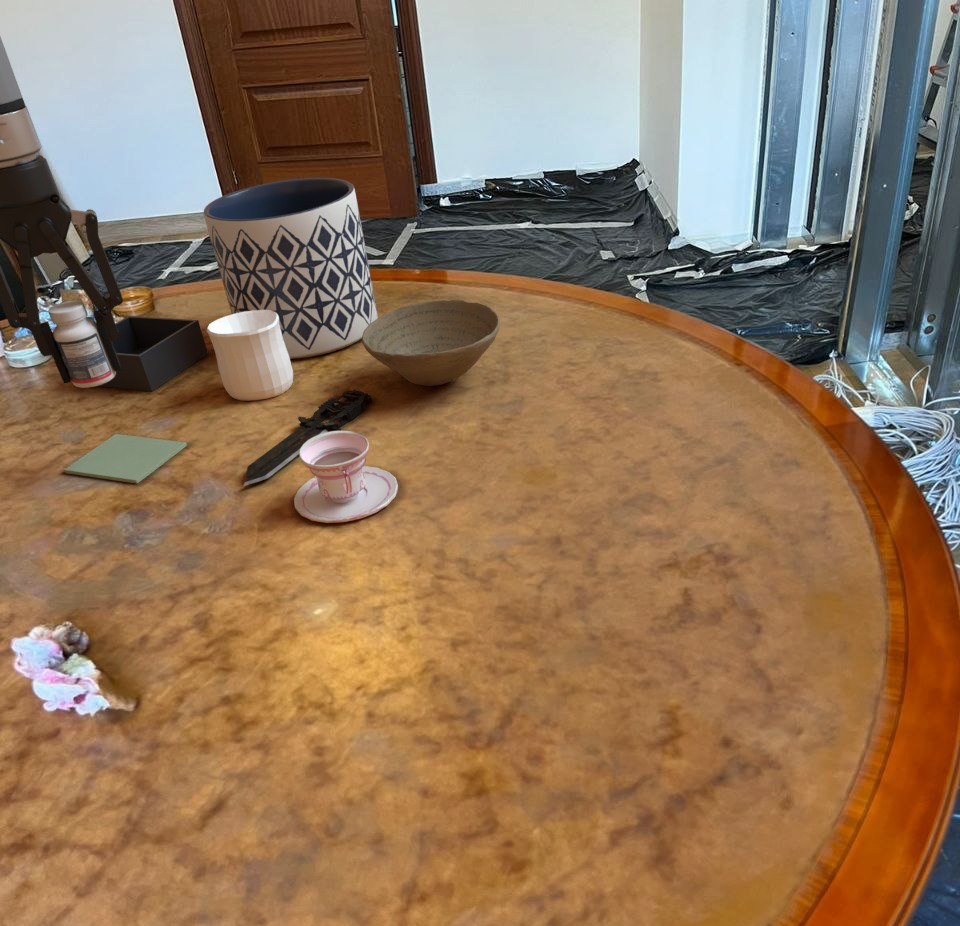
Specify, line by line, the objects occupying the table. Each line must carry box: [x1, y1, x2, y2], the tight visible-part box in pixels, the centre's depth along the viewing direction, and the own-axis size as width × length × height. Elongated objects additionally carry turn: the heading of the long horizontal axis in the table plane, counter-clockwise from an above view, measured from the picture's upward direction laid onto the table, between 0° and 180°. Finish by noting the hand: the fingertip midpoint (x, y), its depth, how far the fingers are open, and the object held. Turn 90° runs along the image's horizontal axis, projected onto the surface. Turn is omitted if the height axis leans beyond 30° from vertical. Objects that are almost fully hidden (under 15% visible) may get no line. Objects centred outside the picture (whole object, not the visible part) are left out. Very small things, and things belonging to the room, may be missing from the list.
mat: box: [63, 433, 188, 484], centre depth 114 cm, size 12×10×1 cm
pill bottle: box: [47, 300, 116, 389], centre depth 105 cm, size 5×5×9 cm
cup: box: [206, 310, 294, 402], centre depth 125 cm, size 10×10×10 cm
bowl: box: [361, 299, 501, 387], centre depth 121 cm, size 18×18×8 cm
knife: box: [242, 389, 373, 487], centre depth 113 cm, size 25×6×1 cm, turn 147°
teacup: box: [293, 430, 399, 524], centre depth 99 cm, size 12×12×6 cm
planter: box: [203, 177, 379, 360], centre depth 136 cm, size 22×22×20 cm
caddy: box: [97, 315, 209, 392], centre depth 137 cm, size 14×14×5 cm
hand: (92, 372), depth 107 cm, fingers closed on pill bottle, 5 cm apart
